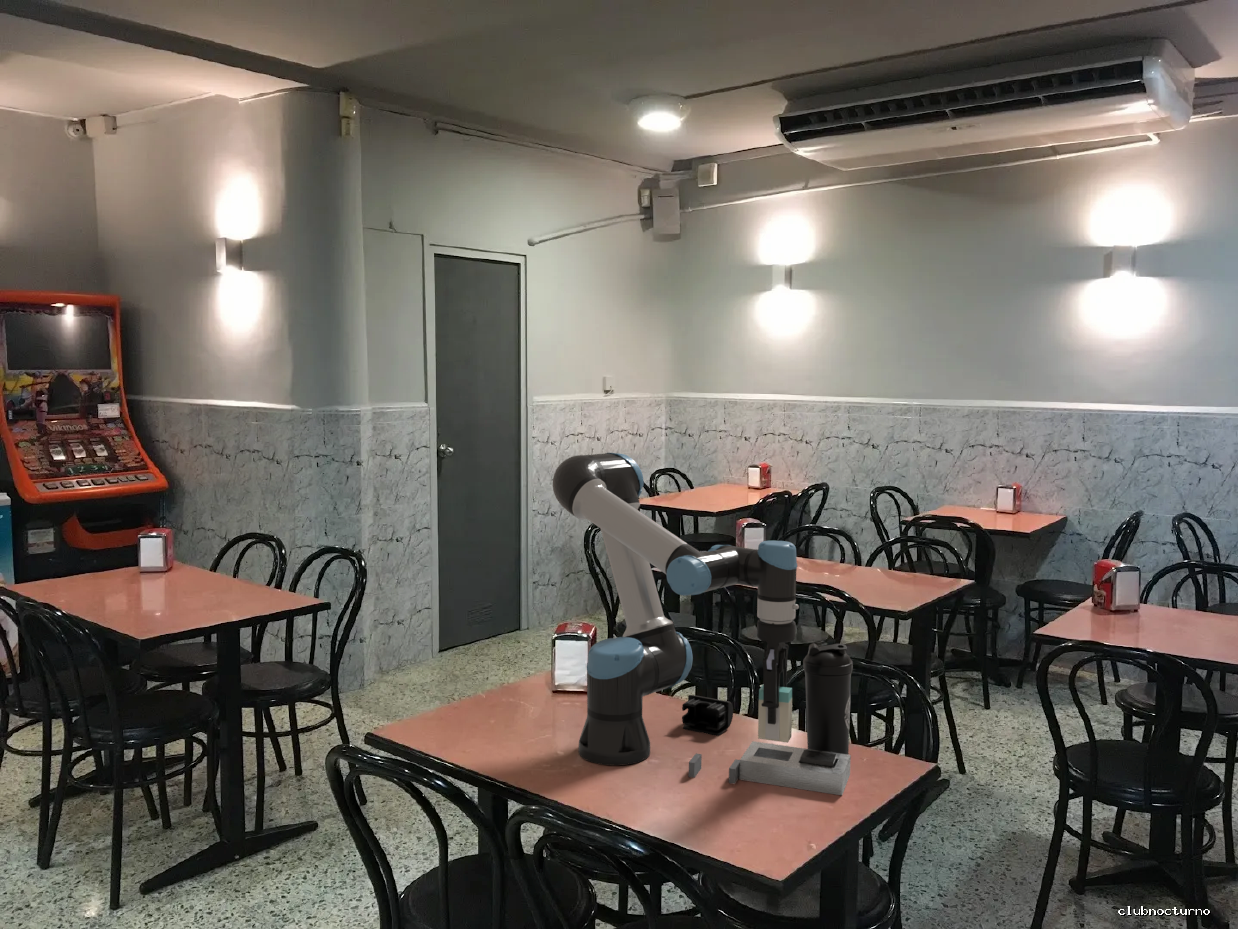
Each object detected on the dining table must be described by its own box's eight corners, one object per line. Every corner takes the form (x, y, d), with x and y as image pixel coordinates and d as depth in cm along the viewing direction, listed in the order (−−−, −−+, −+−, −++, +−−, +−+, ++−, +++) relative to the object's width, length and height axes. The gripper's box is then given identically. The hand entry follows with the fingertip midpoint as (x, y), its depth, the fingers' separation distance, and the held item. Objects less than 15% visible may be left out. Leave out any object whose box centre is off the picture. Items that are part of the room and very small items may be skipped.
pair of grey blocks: (688, 776, 196) (688, 762, 195) (695, 767, 200) (695, 753, 200) (734, 784, 192) (735, 769, 192) (740, 774, 197) (741, 760, 197)
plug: (758, 738, 196) (758, 689, 196) (761, 733, 200) (762, 684, 199) (788, 742, 194) (788, 693, 193) (791, 736, 197) (792, 688, 197)
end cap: (733, 727, 224) (733, 698, 224) (720, 737, 218) (721, 707, 218) (693, 719, 229) (693, 691, 229) (680, 729, 223) (680, 699, 222)
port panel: (739, 779, 194) (739, 755, 194) (752, 760, 205) (752, 736, 204) (842, 795, 187) (842, 770, 187) (850, 774, 198) (850, 750, 197)
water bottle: (855, 762, 203) (855, 652, 202) (804, 760, 205) (804, 651, 203) (850, 744, 213) (850, 640, 212) (802, 743, 215) (802, 639, 213)
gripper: (787, 630, 186) (785, 751, 188) (803, 612, 201) (801, 724, 203) (748, 627, 189) (746, 746, 190) (766, 609, 204) (765, 720, 206)
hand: (774, 734), depth 197 cm, fingers closed on plug, 3 cm apart
